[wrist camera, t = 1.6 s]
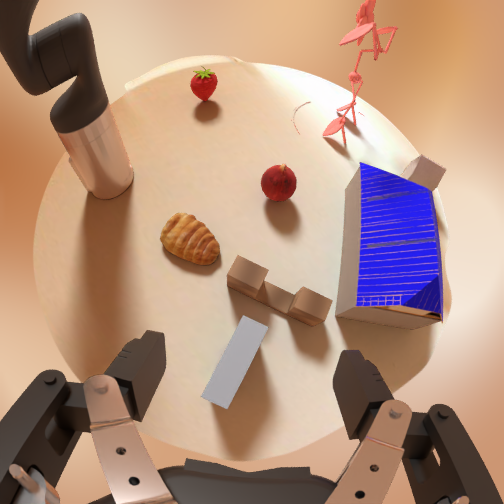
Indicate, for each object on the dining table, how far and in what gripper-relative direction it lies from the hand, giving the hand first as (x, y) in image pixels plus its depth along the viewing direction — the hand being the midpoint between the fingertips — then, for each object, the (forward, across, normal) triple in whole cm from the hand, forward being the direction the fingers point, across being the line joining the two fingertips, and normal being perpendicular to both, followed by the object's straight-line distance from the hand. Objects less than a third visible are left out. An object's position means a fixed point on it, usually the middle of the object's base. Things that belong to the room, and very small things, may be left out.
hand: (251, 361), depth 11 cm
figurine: (+54, -14, -25) cm, 61 cm away
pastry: (+32, +10, +2) cm, 33 cm away
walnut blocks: (+27, -3, +8) cm, 29 cm away
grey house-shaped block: (+45, -34, -12) cm, 57 cm away
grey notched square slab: (+21, +2, +16) cm, 27 cm away
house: (+34, -22, +2) cm, 41 cm away
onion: (+38, -2, -6) cm, 39 cm away
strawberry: (+53, +15, -27) cm, 62 cm away
